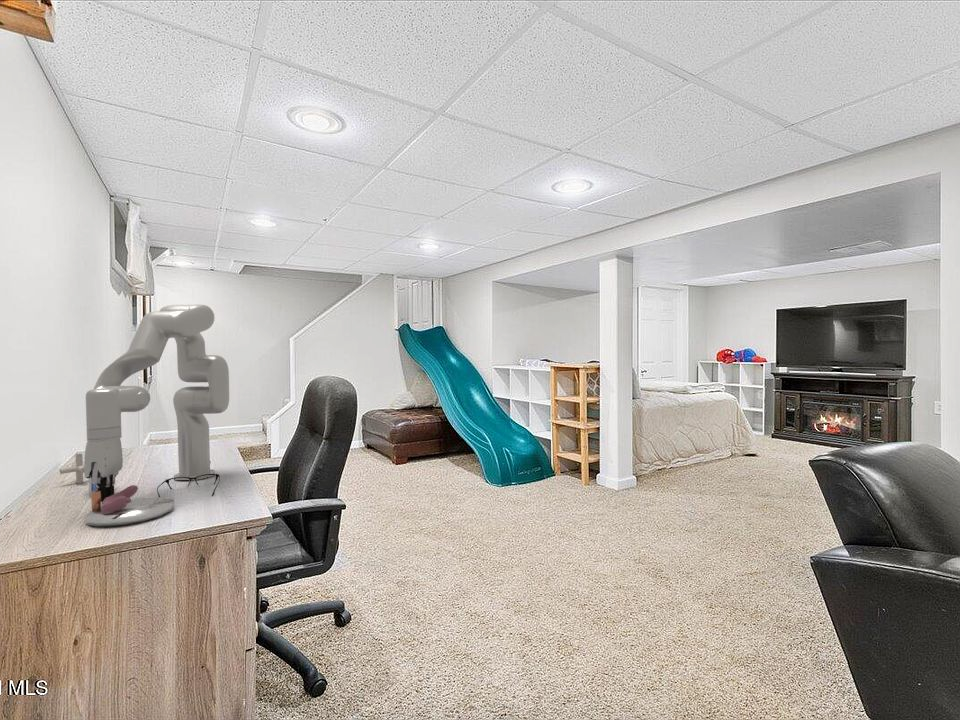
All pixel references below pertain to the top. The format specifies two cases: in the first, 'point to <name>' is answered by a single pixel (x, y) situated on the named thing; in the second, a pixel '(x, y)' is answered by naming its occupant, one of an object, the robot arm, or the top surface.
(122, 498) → the video game controller
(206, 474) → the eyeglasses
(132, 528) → the top surface
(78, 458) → the pipe connector
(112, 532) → the top surface
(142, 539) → the top surface
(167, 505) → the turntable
